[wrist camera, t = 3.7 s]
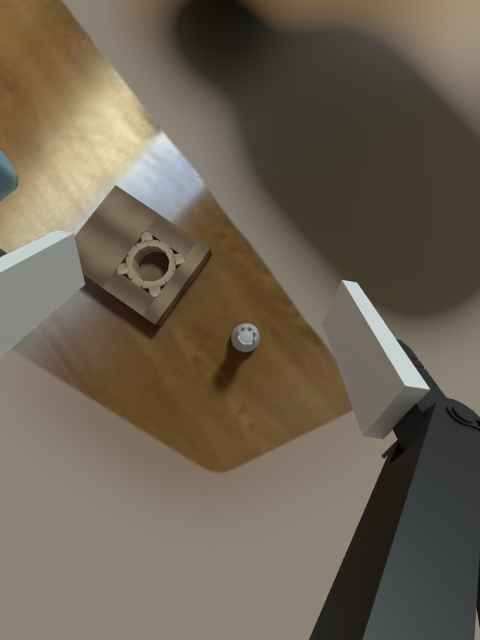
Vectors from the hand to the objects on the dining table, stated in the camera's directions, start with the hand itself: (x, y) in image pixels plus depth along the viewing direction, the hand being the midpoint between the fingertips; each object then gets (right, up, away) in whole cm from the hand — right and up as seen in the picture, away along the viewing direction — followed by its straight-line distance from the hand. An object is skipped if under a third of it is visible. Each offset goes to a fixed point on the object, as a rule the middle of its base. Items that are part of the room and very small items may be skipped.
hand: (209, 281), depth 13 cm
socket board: (-14, +8, +28) cm, 32 cm away
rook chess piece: (+2, -5, +27) cm, 27 cm away
